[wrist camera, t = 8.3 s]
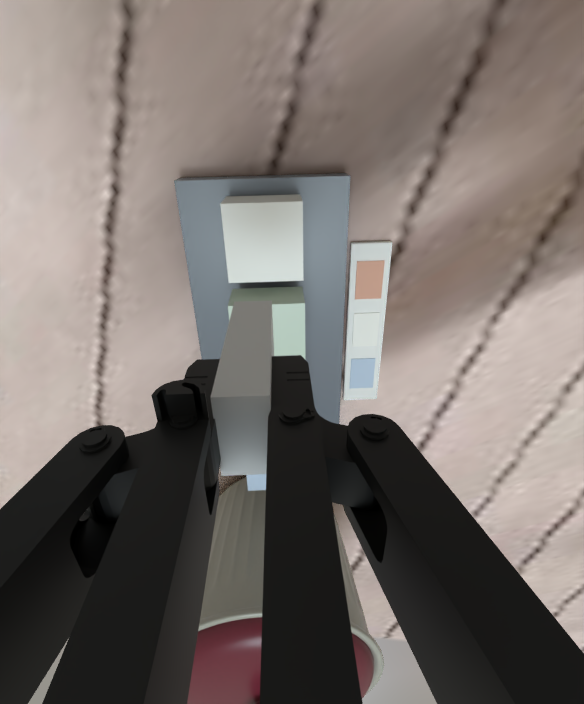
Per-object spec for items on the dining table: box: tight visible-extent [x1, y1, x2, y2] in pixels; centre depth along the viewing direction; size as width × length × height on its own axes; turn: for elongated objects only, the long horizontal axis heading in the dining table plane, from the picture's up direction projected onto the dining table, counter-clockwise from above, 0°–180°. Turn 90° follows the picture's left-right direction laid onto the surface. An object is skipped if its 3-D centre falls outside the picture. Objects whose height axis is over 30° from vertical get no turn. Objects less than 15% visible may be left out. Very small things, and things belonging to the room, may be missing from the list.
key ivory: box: [220, 194, 304, 283], centre depth 26 cm, size 5×5×3 cm
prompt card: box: [343, 241, 392, 400], centre depth 34 cm, size 15×3×1 cm, turn 1°
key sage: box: [228, 287, 305, 359], centre depth 28 cm, size 5×5×3 cm
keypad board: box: [174, 173, 350, 424], centre depth 33 cm, size 25×12×4 cm, turn 1°
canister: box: [187, 478, 384, 704], centre depth 36 cm, size 18×18×21 cm
